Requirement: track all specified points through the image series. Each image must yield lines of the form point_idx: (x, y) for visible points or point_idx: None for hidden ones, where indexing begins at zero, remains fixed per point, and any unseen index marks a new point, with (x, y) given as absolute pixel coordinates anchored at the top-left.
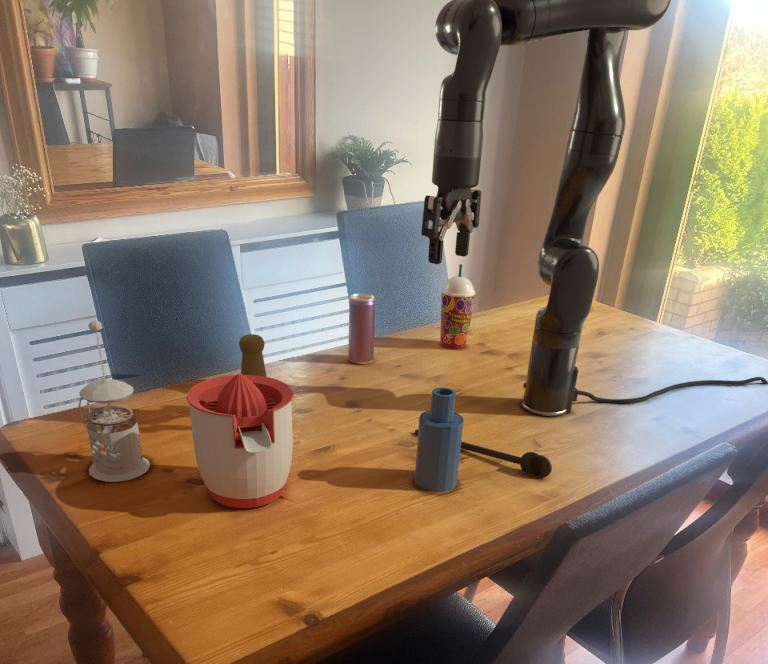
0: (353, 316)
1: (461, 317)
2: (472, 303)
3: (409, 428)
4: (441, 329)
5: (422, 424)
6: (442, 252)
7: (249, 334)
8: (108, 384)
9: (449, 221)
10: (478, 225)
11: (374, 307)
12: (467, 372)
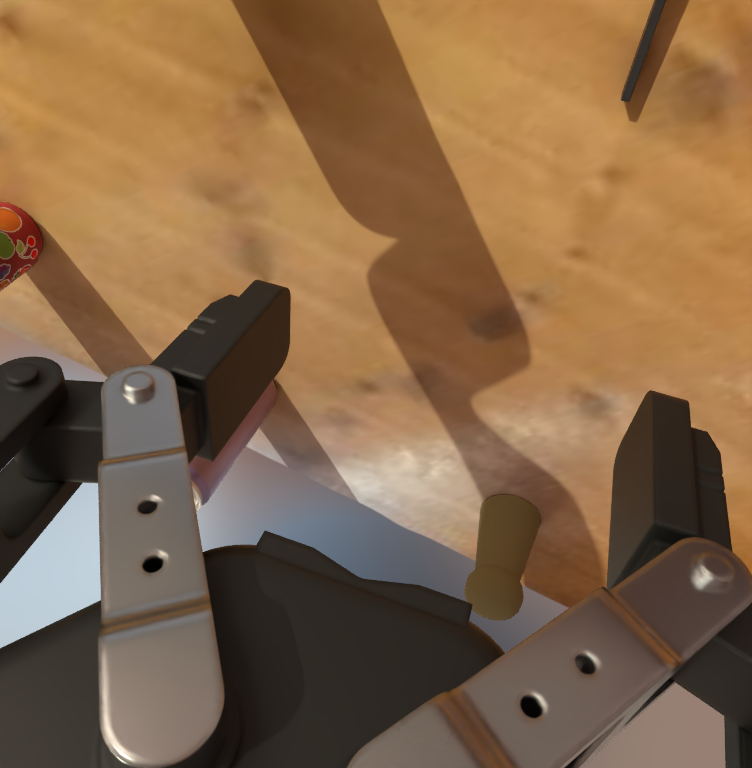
0: (226, 470)
1: None
2: None
3: (580, 132)
4: (15, 278)
5: None
6: (655, 442)
7: (480, 613)
8: None
9: (641, 672)
10: (8, 361)
11: None
12: (125, 130)
